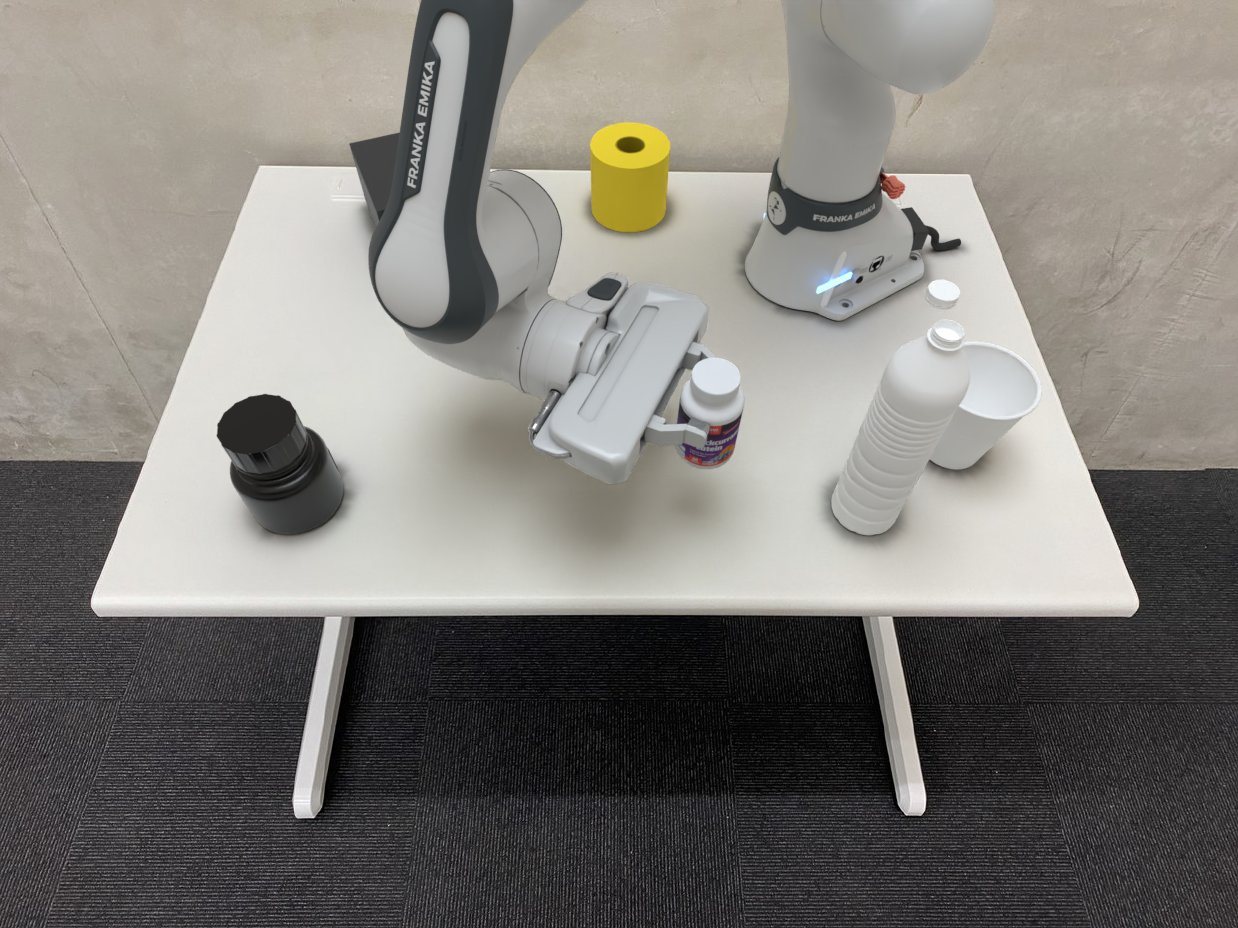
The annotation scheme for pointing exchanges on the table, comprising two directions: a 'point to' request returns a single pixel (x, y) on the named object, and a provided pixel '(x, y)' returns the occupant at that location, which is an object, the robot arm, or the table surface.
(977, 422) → the cup
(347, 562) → the table surface
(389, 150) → the cabinet
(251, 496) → the ink bottle
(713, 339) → the table surface
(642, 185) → the yellow toilet paper roll
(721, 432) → the pill bottle
